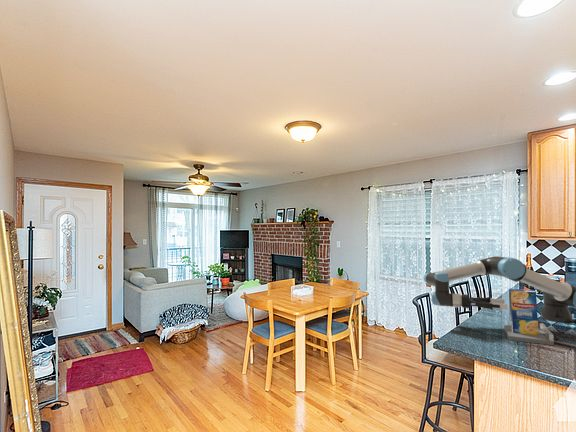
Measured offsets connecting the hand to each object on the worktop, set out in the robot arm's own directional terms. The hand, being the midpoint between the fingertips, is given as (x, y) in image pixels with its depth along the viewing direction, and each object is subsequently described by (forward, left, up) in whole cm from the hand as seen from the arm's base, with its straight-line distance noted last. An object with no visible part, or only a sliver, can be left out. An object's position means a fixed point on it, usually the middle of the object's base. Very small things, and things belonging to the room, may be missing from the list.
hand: (505, 304), depth 172 cm
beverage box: (-5, +5, -14) cm, 16 cm away
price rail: (-12, +12, -14) cm, 22 cm away
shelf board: (-6, +6, -16) cm, 18 cm away
